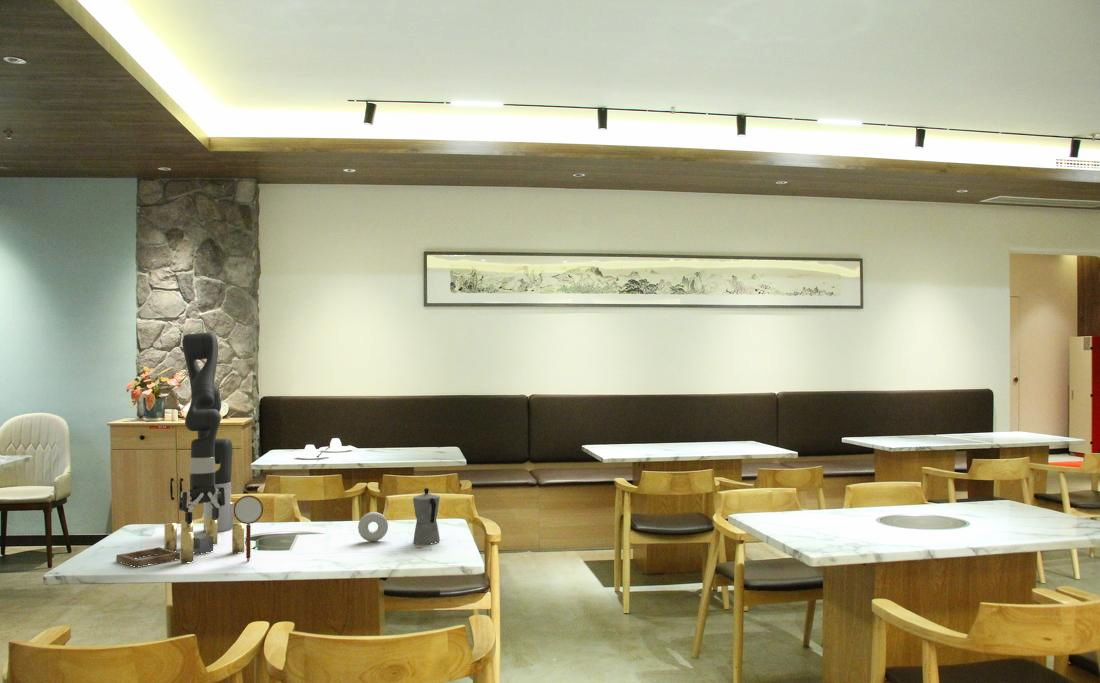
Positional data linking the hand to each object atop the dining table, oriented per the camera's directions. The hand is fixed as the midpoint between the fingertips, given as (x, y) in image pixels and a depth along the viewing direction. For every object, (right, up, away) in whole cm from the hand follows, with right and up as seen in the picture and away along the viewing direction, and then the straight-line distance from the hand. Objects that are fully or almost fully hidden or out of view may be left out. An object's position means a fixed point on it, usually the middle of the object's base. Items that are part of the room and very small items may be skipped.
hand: (202, 521), depth 262 cm
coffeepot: (+71, -10, +12) cm, 72 cm away
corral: (-12, -10, -11) cm, 19 cm away
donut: (+52, -10, +14) cm, 55 cm away
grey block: (0, -10, 0) cm, 10 cm away
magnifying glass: (+20, -9, -13) cm, 25 cm away
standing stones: (-1, -10, 0) cm, 10 cm away
